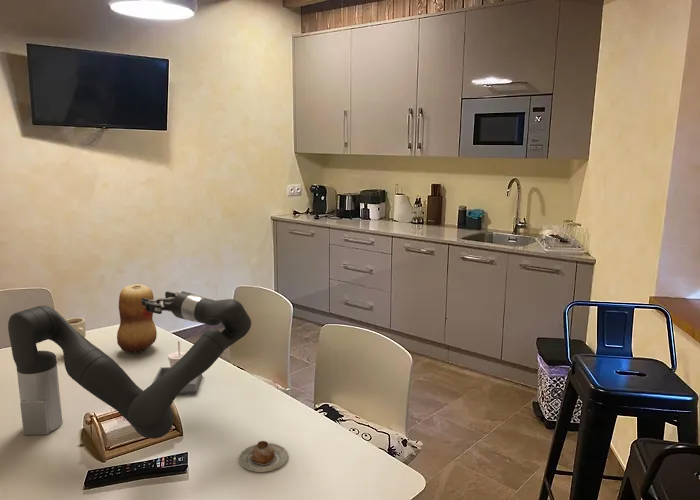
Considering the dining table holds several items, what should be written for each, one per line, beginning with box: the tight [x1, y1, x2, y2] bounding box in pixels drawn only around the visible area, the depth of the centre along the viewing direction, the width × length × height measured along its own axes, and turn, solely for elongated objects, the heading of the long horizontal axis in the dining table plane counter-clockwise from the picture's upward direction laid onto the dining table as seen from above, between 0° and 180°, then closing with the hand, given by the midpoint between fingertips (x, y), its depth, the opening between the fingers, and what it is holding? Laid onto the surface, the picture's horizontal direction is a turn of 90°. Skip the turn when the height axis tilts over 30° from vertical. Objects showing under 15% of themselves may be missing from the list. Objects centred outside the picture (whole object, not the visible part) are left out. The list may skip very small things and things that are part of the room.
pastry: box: [238, 440, 289, 473], centre depth 132 cm, size 12×12×5 cm
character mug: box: [65, 317, 87, 338], centre depth 192 cm, size 11×7×13 cm, turn 57°
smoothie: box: [167, 340, 188, 367], centre depth 169 cm, size 6×6×14 cm
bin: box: [151, 366, 203, 396], centre depth 171 cm, size 13×13×4 cm
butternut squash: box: [116, 283, 158, 354], centre depth 195 cm, size 14×13×25 cm
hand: (154, 298), depth 162 cm, fingers open, 8 cm apart
